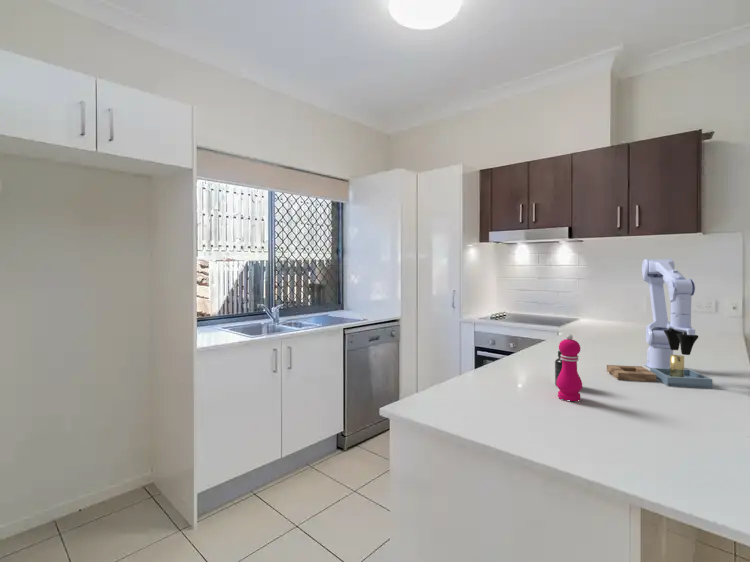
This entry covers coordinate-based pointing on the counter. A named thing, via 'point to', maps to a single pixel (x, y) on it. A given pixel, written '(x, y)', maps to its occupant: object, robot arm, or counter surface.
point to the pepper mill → (569, 370)
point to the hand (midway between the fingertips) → (680, 352)
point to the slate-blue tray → (682, 378)
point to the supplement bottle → (558, 366)
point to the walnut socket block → (631, 373)
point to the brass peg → (676, 366)
